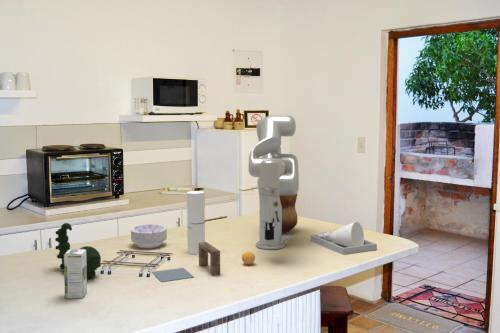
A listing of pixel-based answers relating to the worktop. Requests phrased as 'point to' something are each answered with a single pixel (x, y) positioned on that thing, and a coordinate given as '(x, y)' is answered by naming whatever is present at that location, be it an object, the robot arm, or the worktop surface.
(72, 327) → the worktop surface
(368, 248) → the grey rimmed tray
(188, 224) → the cylindrical container
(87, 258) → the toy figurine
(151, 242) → the paper bowls
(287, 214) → the brown vase
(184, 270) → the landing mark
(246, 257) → the ball
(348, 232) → the rocket engine
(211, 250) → the bridge
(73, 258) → the syrup box
